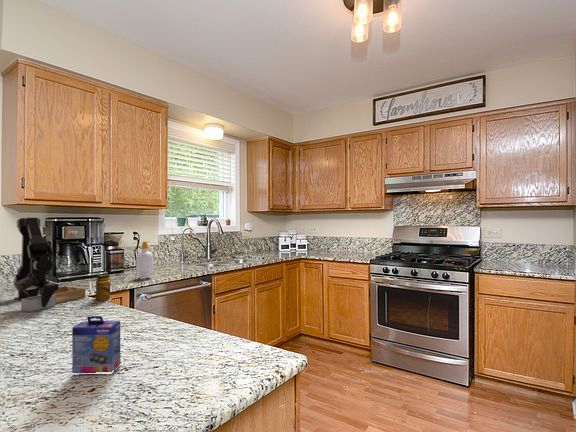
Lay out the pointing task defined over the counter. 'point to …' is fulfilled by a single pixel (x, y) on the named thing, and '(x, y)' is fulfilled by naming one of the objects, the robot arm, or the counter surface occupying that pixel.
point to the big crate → (68, 294)
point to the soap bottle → (144, 262)
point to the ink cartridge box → (95, 346)
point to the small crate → (36, 303)
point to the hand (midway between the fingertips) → (38, 306)
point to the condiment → (102, 289)
